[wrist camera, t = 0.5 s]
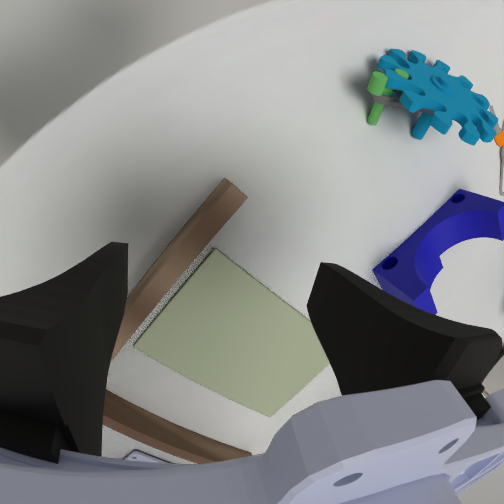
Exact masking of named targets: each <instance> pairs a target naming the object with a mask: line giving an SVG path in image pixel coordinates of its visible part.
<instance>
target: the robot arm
mask: <svg viewBox="0 0 504 504" xmlns="http://www.w3.org/2000/svg"><path fill="white" fill-rule="evenodd" d="M127 293H128V243H118V242H111V243H109V244H107V245H106V246H104V247H103V248H101V249H100V250H98V251H97V252H95V253H94V254H92V255H91V256H90V257H88V258H87V259H85V260H84V261H82V262H80V263H79V264H77V265H75V266H74V267H72V268H71V269H69V270H67V271H66V272H64V273H62V274H60V275H58V276H56V277H54V278H52V279H50V280H48V281H46V282H44V283H41V284H39V285H36V286H33V287H31V288H28V289H25V290H22V291H20V292H17V293H13V294H10V295H6V296H2V297H0V504H461V502H460V500H459V498H458V497H457V495H456V494H458V493H460V492H461V491H463V490H464V489H466V488H468V487H469V486H471V485H472V484H474V483H475V482H477V481H478V480H480V479H481V478H483V477H484V476H486V475H487V474H489V473H490V472H492V471H493V470H495V469H496V468H497V467H498V466H499V465H500V464H502V463H503V462H504V389H501V390H499V391H496V392H494V393H492V394H490V395H489V396H487V397H486V398H484V397H483V395H482V394H481V393H482V392H483V391H484V390H485V387H484V386H483V385H482V383H481V381H482V380H483V378H484V377H485V376H486V374H487V373H488V371H489V370H490V369H491V367H492V366H493V364H494V363H495V361H496V359H497V358H498V356H499V353H500V351H501V347H502V338H501V337H500V336H499V335H498V334H497V333H496V332H495V331H494V330H492V329H489V328H483V327H478V326H472V325H467V324H463V323H459V322H456V321H452V320H448V319H445V318H442V317H439V316H436V315H434V314H431V313H428V312H426V311H423V310H421V309H418V308H416V307H414V306H412V305H410V304H408V303H405V302H403V301H401V300H399V299H397V298H396V297H394V296H392V295H390V294H388V293H387V292H385V291H383V290H381V289H380V288H378V287H376V286H374V285H373V284H371V283H369V282H368V281H366V280H365V279H363V278H361V277H359V276H358V275H356V274H354V273H353V272H351V271H349V270H347V269H345V268H344V267H341V266H339V265H337V264H333V263H323V262H321V263H320V266H319V269H318V273H317V276H316V279H315V282H314V285H313V288H312V291H311V294H310V297H309V300H308V303H307V309H308V313H309V317H310V320H311V323H312V326H313V328H314V331H315V333H316V335H317V337H318V339H319V341H320V344H321V346H322V348H323V350H324V352H325V354H326V356H327V358H328V360H329V362H330V364H331V366H332V369H333V371H334V373H335V376H336V378H337V381H338V385H339V388H340V391H341V394H342V396H339V397H335V398H332V399H328V400H324V401H320V402H317V403H315V404H313V405H311V406H310V407H308V408H306V409H304V410H302V411H300V412H298V413H296V414H295V415H293V416H292V417H291V418H290V419H289V420H288V421H287V422H286V423H285V424H284V425H283V426H282V427H281V428H280V430H279V431H278V432H277V433H276V434H275V435H274V437H273V439H272V441H271V443H270V445H269V447H268V449H267V451H266V452H265V453H263V454H258V455H253V456H248V457H243V458H238V459H232V460H227V461H221V462H214V463H208V464H172V463H167V462H165V461H162V460H159V459H157V458H154V457H151V456H149V455H146V454H144V453H141V452H139V451H134V452H132V453H131V454H130V455H129V456H127V457H126V458H125V459H124V460H123V459H115V458H107V457H101V450H102V425H103V411H104V400H105V391H106V383H107V376H108V370H109V365H110V361H111V357H112V354H113V350H114V347H115V343H116V340H117V336H118V333H119V330H120V326H121V323H122V319H123V316H124V311H125V305H126V299H127Z"/></svg>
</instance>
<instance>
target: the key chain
mask: <svg viewBox="0 0 504 504" xmlns="http://www.w3.org/2000/svg"><path fill="white" fill-rule="evenodd" d="M490 112H491V113H492V114H494V115H495V112H494V109H493V106H490ZM495 116H496V115H495ZM502 128H503V129H501V128H499V125H498V123H497V124H496V125H495V127H494V130H495V132H496V133H497V134H496V136H495V137H494V139H495V142H496V144H497V145H498V146H499V147H501V173H500V195H503V196H504V192H502V180H503V166H504V122H503V125H502Z"/></svg>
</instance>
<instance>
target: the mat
mask: <svg viewBox="0 0 504 504" xmlns="http://www.w3.org/2000/svg"><path fill="white" fill-rule="evenodd" d="M133 347H134V348H136V349H138V350H139V351H141V352H143V353H144V354H146V355H148V356H149V357H151V358H153V359H155V360H156V361H158V362H160V363H161V364H163V365H165V366H167V367H169V368H170V369H172V370H174V371H176V372H178V373H179V374H181V375H183V376H185V377H187V378H189V379H190V380H192V381H194V382H196V383H198V384H200V385H202V386H204V387H206V388H208V389H210V390H212V391H214V392H216V393H218V394H220V395H222V396H224V397H226V398H228V399H230V400H232V401H235V402H237V403H239V404H241V405H243V406H245V407H247V408H250V409H252V410H254V411H256V412H259V413H261V414H263V415H266V416H268V417H271V416H272V415H273V414H274V413H276V412H277V411H278V410H279V409H280V408H281V407H283V406H284V405H285V404H286V403H287V402H288V401H289V400H291V399H292V398H293V397H294V396H295V395H296V394H297V393H298V392H300V391H301V390H302V389H303V388H304V387H305V386H306V385H307V384H308V383H309V382H310V381H311V380H313V379H314V378H315V377H316V376H317V375H318V374H319V373H320V372H321V371H322V370H323V369H324V368H325V367H326V366H327V365H328V364H329V363H330V362H329V360H328V358H327V356H326V354H325V352H324V350H323V348H322V346H321V344H320V341H319V339H318V337H317V335H316V333H315V331H314V328H313V326H312V323H311V321H310V320H308V319H307V318H306V317H304V316H303V315H302V314H300V313H299V312H298V311H296V310H295V309H294V308H292V307H291V306H290V305H289V304H287V303H286V302H285V301H283V300H282V299H281V298H279V297H278V296H277V295H275V294H274V293H273V292H272V291H270V290H269V289H268V288H266V287H265V286H264V285H262V284H261V283H260V282H259V281H257V280H256V279H255V278H253V277H252V276H251V275H249V274H248V273H247V272H246V271H244V270H243V269H242V268H240V267H239V266H238V265H237V264H235V263H234V262H233V261H231V260H230V259H229V258H228V257H226V256H225V255H224V254H222V253H221V252H220V251H219V250H217V249H216V248H214V250H213V251H212V252H211V253H210V254H209V255H208V257H207V258H206V259H205V260H204V261H203V262H202V264H201V265H200V266H199V267H198V268H197V269H196V271H195V272H194V273H193V274H192V275H191V276H190V278H189V279H188V280H187V281H186V282H185V284H184V285H183V286H182V287H181V288H180V289H179V291H178V292H177V293H176V294H175V295H174V297H173V298H172V299H171V300H170V301H169V303H168V304H167V305H166V306H165V307H164V309H163V310H162V311H161V312H160V313H159V315H158V316H157V317H156V318H155V319H154V321H153V322H152V323H151V324H150V325H149V327H148V328H147V329H146V330H145V332H144V333H143V334H142V335H141V336H140V338H139V339H138V340H137V341H136V343H135V344H134V346H133Z"/></svg>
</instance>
